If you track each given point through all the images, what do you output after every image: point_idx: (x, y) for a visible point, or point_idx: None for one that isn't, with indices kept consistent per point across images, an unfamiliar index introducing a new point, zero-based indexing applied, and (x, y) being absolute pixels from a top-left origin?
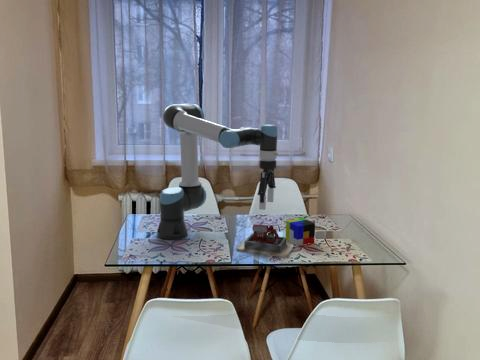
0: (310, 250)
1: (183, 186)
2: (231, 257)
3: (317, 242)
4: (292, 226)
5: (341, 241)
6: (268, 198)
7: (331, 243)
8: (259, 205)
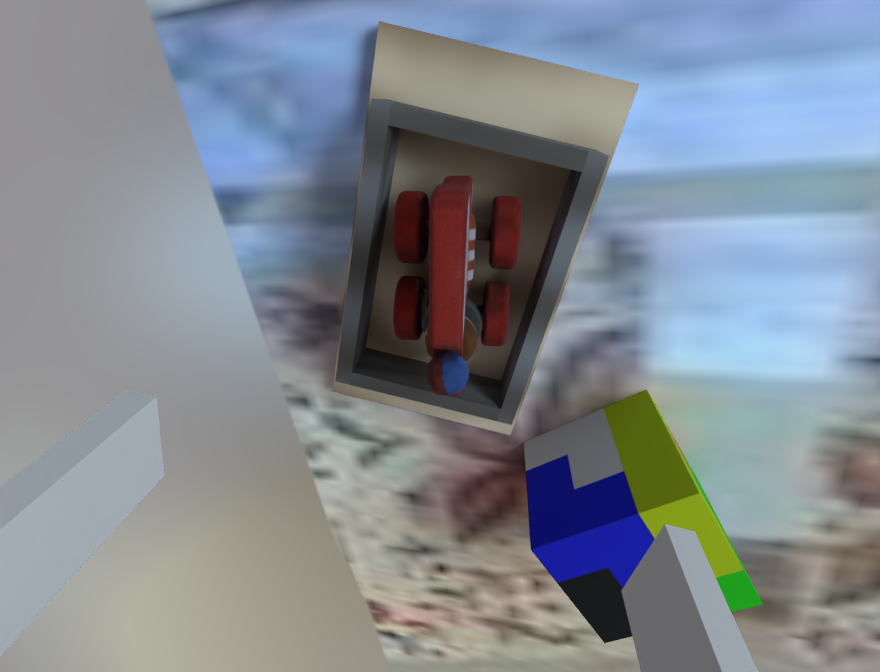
0: (464, 494)
1: None
2: (228, 3)
3: None
4: (596, 506)
5: None
6: (675, 600)
7: None
8: (72, 436)
